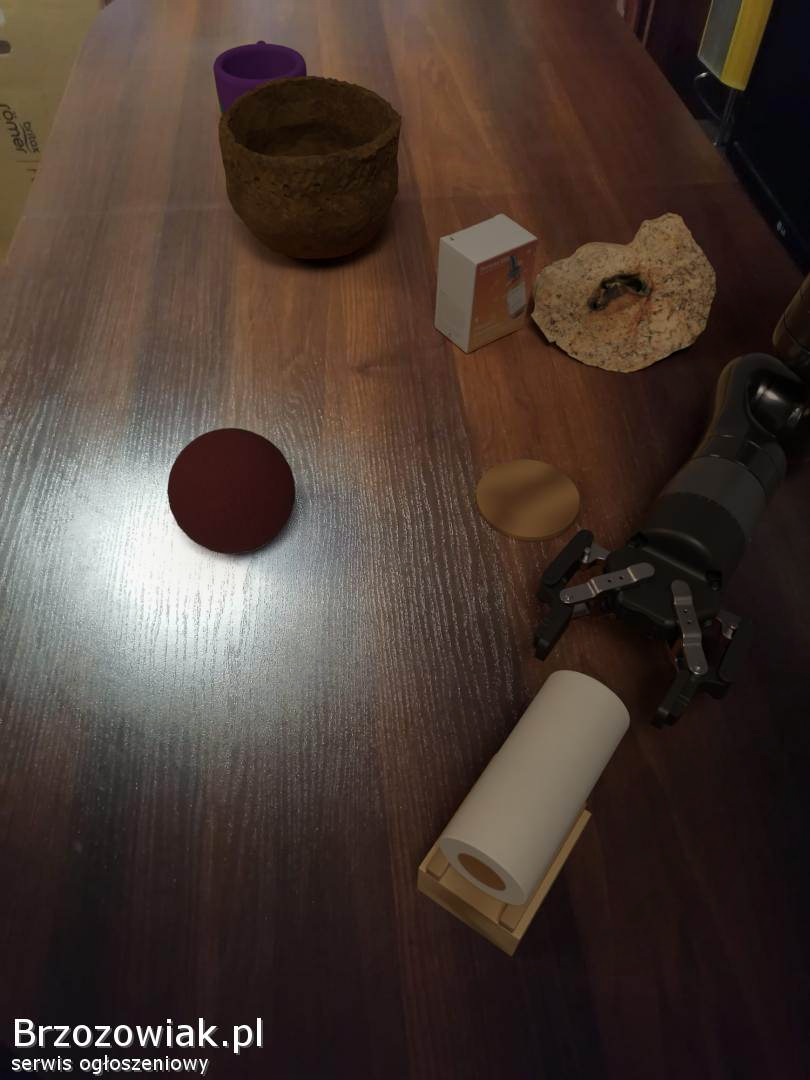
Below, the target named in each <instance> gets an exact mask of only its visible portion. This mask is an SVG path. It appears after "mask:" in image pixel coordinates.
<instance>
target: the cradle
mask: <svg viewBox="0 0 810 1080" xmlns="http://www.w3.org/2000/svg"><path fill="white" fill-rule="evenodd" d="M496 755H497V753H495V754H494V755H493V756H492V758H491V760H490V761H489V762H488V763H487V765H486V767H485V768H484V770H483V771H482V772H481V775H480V776H479V778H477V780H476V782H475V783H474V785H473V787H472V788H471V789H470V790H469V792H468V794H467V795H466V797H465V798H464V800H463V801H462V802H461V805H460V806H459V807H458V808H457V810H456V811H455V813H454V814H453V816H452V817H451V819H450V820H449V821H448V823H447V825H446V827H445V828H444V829H443V831H442V832H441V834H440V836H439V837H438V838H437V840H436V841H435V843H434V844H433V845H432V847H431V849H430V850H429V852H427V855H426V856H425V858H424V859H423V861H422V862H421V863H420V865H419V866H418V872H417V879H416V880H417V881H416V882H417V883H416V884H417V885H416V889H417V890H419V891H420V892H421V893H422V894H424V895H425V896H427V897H429V898H430V899H431V900H432V901H434V902H435V903H436V904H438V905H439V906H441V907H442V908H443V909H445V910H446V911H448V912H449V913H450V914H452V915H453V916H454V917H456V918H457V919H458V920H460V921H461V922H463V923H464V924H465V925H467V926H468V927H470V928H471V929H472V930H474V931H475V932H476V933H478V934H479V935H481V936H482V937H483V938H485V939H486V940H488V941H489V942H491V943H492V944H493V945H495V946H496V947H497V948H499V949H500V950H502V951H503V952H505V953H506V954H507V955H508V956H510V957H513V956H514V954H515V952H516V950H517V949H518V947H519V945H520V943H521V942H522V940H523V938H524V936H525V934H526V933H527V931H528V929H529V928H530V926H531V924H532V922H533V921H534V919H535V918H536V915H537V914H538V912H539V910H540V908H541V907H542V905H543V903H544V901H545V900H546V898H547V896H548V894H549V893H550V891H551V889H552V887H553V885H554V884H555V882H556V881H557V878H558V877H559V875H560V873H561V872H562V870H563V868H564V866H565V864H566V862H568V859H569V857H570V856H571V854H572V852H573V851H574V848H575V847H576V845H577V843H578V842H579V840H580V838H581V836H582V834H583V833H584V830H585V828H586V826H587V824H588V823H589V820H590V819H591V816H592V813H591V812H590V811H588V810H587V809H586V808H587V806H588V803H587V802H586V801H585V803H584V805H583V806H582V808H581V810H580V811H579V813H578V815H577V817H576V818H575V820H574V822H573V823H572V825H571V827H570V829H569V830H568V832H567V834H566V835H565V837H564V839H563V841H562V842H561V844H560V846H559V848H558V849H557V851H556V853H555V854H554V856H553V858H552V860H551V861H550V863H549V865H548V866H547V868H546V870H545V872H544V873H543V875H542V877H541V878H540V880H539V882H538V884H537V885H536V887H535V889H534V891H533V892H532V894H531V896H530V897H529V899H528V901H527V902H526V903H525V904H524V905H520V906H518V905H512V904H508V903H505V902H503V901H501V900H498V899H496V898H494V897H492V896H491V895H489V894H487V893H485V892H484V891H482V890H481V889H479V888H478V887H476V886H475V885H474V884H472V883H471V882H470V881H468V880H467V879H466V878H465V877H464V876H462V875H461V874H460V873H459V872H458V871H457V870H456V869H455V868H454V867H453V866H452V865H451V864H450V862H449V861H448V860H447V859H446V857H445V856H444V855H443V853H442V851H441V849H440V846H439V840H440V838H441V836H442V835H443V833H444V832H445V830H446V829H447V827H448V826H449V824H450V823H451V822H452V820H453V819H454V817H455V816H456V814H457V813H458V811H459V810H460V808H461V807H462V805H463V804H464V802H465V801H466V799H467V798H468V796H469V795H470V793H471V792H472V790H473V789H474V787H475V786H476V784H477V783H478V781H479V780H480V778H481V777H482V775H483V774H484V772H485V771H486V769H487V768H488V767H489V765H490V764H491V762H492V761H493V759H494V758H495V756H496Z"/></svg>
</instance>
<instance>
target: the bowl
mask: <svg viewBox="0 0 810 1080" xmlns="http://www.w3.org/2000/svg"><path fill="white" fill-rule="evenodd" d="M402 125H403V123H402V115H400V114H399V113H398V112H397V111H396V110H395V108H393V106H392V104H391V103H390V102H388V101H387V100H386V99H385V98H384V97H381V96H380V95H379V94H378V93H377V92H376V91H374V90H371V89H367V88H365V87H364V86H361V85H358V84H357V83H350V82H348V81H346V80H338V79H337V78H332V77H328V78H325V77H324V76H317V75H307V76H299V77H291V76H290V77H283V78H279V79H277V80H274V79H272V80H270V81H268V82H266V83H263V84H260V85H258V86H257V87H256V88H253V89H250V90H248V91H247V92H245V93H244V94H243V95H240V96H238V97H237V98H236V100H235V101H234V102H233V103H232V105H231V106H230V107H229V109H228V110H226V111H225V112H224V113H223V114H222V115H220V118H219V121H218V127H217V128H218V129H217V130H218V141H219V142H218V143H219V147H220V154H221V158H222V159H221V160H222V165H223V168H224V175H225V189H226V194H227V198H228V201H229V202H230V205H231V207H232V209H233V211H234V212H235V214H236V215H237V216H238V217H239V219H240V220H241V221H242V222H243V224H244V225H245V227H246V228H247V229H248V230H249V232H250V233H251V234H252V235H253V236H254V237H255V238H256V239H257V241H259V242H260V243H261V244H262V245H264V246H265V247H266V248H268V249H269V250H271V251H273V253H274V252H275V253H277V254H281V255H284V256H287V257H291V258H297V259H305V260H308V259H309V260H310V259H311V260H320V259H332V258H338V257H343V256H345V255H349V254H351V253H353V252H355V251H356V250H358V249H359V248H361V247H362V246H364V245H366V244H367V243H368V242H369V241H370V240H371V239H372V238H373V237H374V236H375V234H376V233H377V232H378V231H379V229H380V227H381V226H382V225H383V223H384V221H385V220H386V218H387V216H388V214H389V212H390V211H391V209H392V206H393V203H394V202H395V199H396V196H397V194H398V192H399V191H398V190H399V174H400V173H399V172H400V171H399V169H400V168H399V163H398V155H399V140H400V135H401V126H402Z"/></svg>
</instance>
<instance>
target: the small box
mask: <svg viewBox="0 0 810 1080" xmlns="http://www.w3.org/2000/svg"><path fill="white" fill-rule="evenodd" d="M538 241H539V238H538V237H537V236H535V235H534V234H532V232H530V231H528V230H527V229H526V228H524V227H523V226H521V225H520V224H519V223H517V222H516V221H514V220H513V219H511V218H510V217H508V216H507V215H505V214H504V213H499V214H497V215H495V216H493V217H490V218H489V219H486V220H483V221H481V222H479V223H476V224H474V225H471V226H469V227H466V228H464V229H461V230H459V231H456V232H453V233H451V234H448V235H444V236H441V237H439V245H438V263H437V276H436V278H437V281H436V293H435V294H436V296H435V310H434V311H435V312H434V328H435V329H437V331H439V332H440V333H441V334H442V335H444V336H445V337H446V338H447V339H448V340H449V341H450V342H452V343H453V344H454V345H456V346H457V347H458V348H459V349H461V350H462V351H463V352H464V353H465V354H470V353H472V352H473V351H476V350H478V349H480V348H482V347H483V346H486V345H488V344H490V343H493V342H494V341H497V340H499V339H501V338H503V337H505V336H508V335H510V334H512V333H514V332H517V331H519V330H521V329H523V328H524V327H525V323H526V317H527V311H528V304H529V298H530V292H531V286H532V280H533V274H534V267H535V260H536V254H537V250H538V249H537V248H538V244H539V243H538Z"/></svg>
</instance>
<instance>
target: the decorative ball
mask: <svg viewBox="0 0 810 1080" xmlns="http://www.w3.org/2000/svg"><path fill="white" fill-rule="evenodd" d="M167 480H168V481H167V489H166V490H167V491H166V492H167V499H168V505H169V510H170V512H171V514H172V516H173V518H174V521H175V522H176V524H177V526H178V527H179V528H180V530H181V531H182V532H183V533H184V534H185V536H187V537H188V538H189V540H191V541H192V542H194V543H195V544H197V545H198V546H200V547H202V548H205V549H207V550H209V551H212V552H215V553H219V554H225V555H226V554H228V555H236V554H237V555H238V554H244V553H249V552H253V551H255V550H258V549H260V548H262V547H264V546H265V545H267V544H269V543H271V542H272V541H273V540H274V539H275V538H277V536H278V535H280V533H281V532H282V531H283V529H284V528H285V527H286V525H288V522H289V519H290V518H291V516H292V513H293V510H294V507H295V503H296V481H295V478H294V474H293V471H292V468H291V465H290V463H289V462H288V460H287V458H286V457H285V455H284V454H283V452H282V451H281V450H280V449H279V448H278V447H277V446H276V445H275V444H274V443H273V442H272V441H270V440H269V439H268V438H266V437H265V436H263V435H261V434H258V433H256V432H254V431H251V430H247V429H244V428H238V427H237V428H236V427H225V428H223V427H222V428H218V429H213V430H210V431H208V432H205V433H202V434H201V435H199V436H197V437H196V438H194V439H193V440H191V441H190V442H189V443H188V444H187V445H185V446H184V447H183V448H182V450H181V451H180V452H179V454H178V455H177V456H176V459H175V460H174V462H173V464H172V466H171V469H170V471H169V475H168V479H167Z"/></svg>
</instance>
